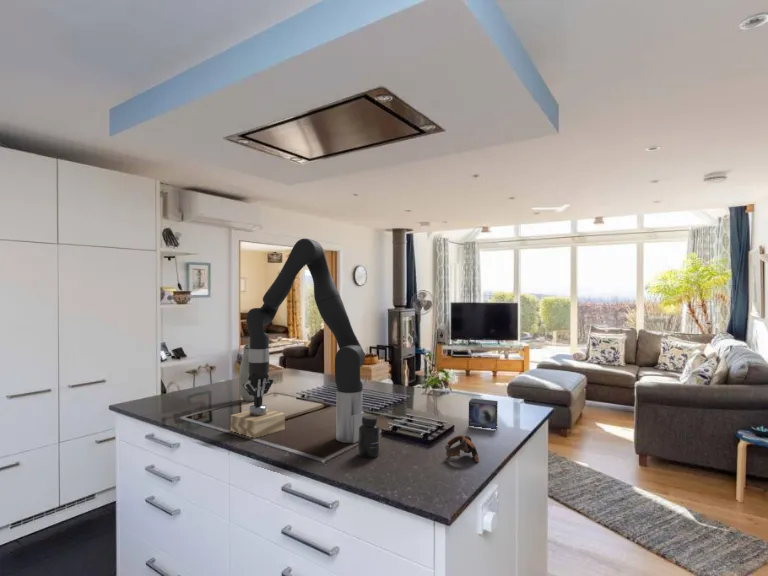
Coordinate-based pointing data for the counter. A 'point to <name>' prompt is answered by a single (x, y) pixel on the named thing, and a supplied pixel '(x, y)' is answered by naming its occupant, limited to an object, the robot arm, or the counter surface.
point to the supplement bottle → (369, 437)
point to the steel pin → (257, 410)
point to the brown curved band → (461, 447)
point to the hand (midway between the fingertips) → (258, 406)
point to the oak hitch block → (257, 423)
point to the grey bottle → (245, 374)
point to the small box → (483, 413)
